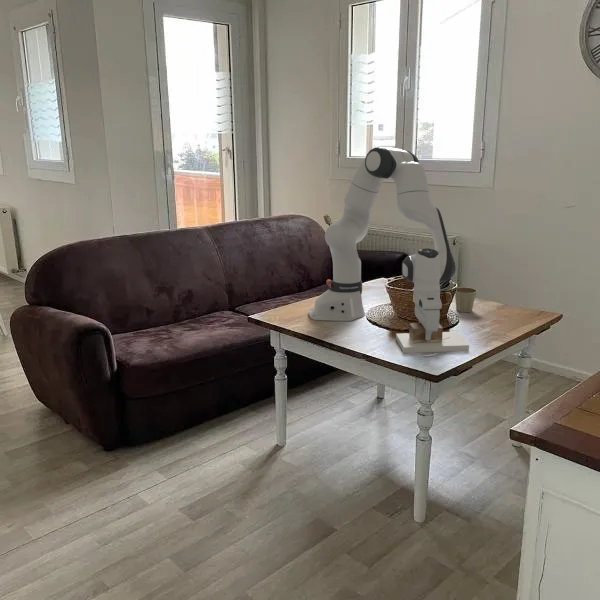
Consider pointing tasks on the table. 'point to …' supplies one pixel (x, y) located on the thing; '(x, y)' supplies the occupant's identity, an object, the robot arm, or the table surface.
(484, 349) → the table surface
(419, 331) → the block
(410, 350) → the marked board
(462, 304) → the flower pot
